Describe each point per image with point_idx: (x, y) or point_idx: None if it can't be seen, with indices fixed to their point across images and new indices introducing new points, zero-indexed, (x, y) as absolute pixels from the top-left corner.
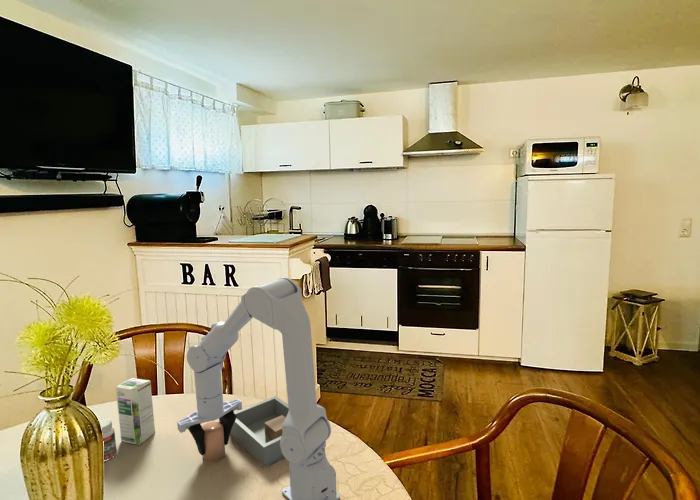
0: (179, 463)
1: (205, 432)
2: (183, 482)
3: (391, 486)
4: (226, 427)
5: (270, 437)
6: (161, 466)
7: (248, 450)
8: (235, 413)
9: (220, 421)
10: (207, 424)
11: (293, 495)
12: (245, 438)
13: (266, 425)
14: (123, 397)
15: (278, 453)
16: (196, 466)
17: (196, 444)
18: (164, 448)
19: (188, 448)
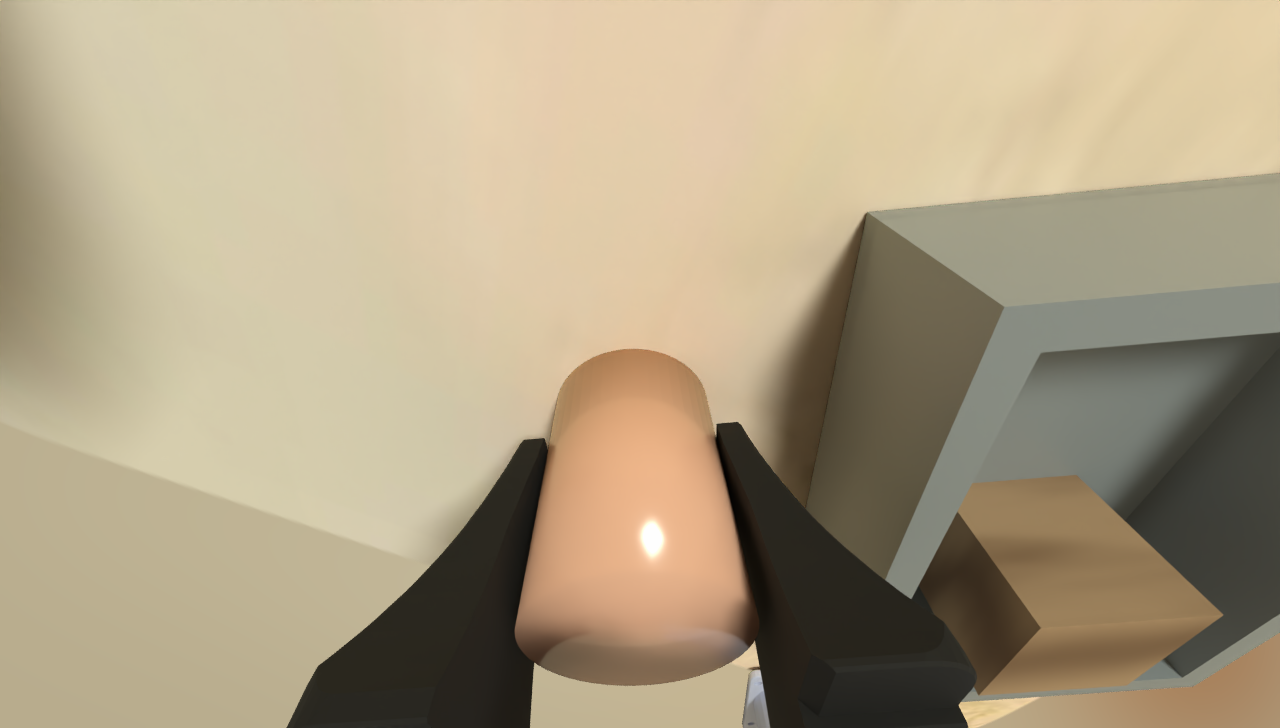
0: (393, 365)
1: (556, 658)
2: (424, 511)
3: (971, 724)
4: (758, 657)
5: (955, 583)
6: (252, 327)
7: (814, 493)
8: (1095, 334)
9: (770, 589)
10: (616, 584)
11: (757, 722)
12: (847, 533)
13: (1020, 633)
14: None
15: None
16: (505, 444)
17: (497, 481)
18: (195, 39)
19: (468, 217)
